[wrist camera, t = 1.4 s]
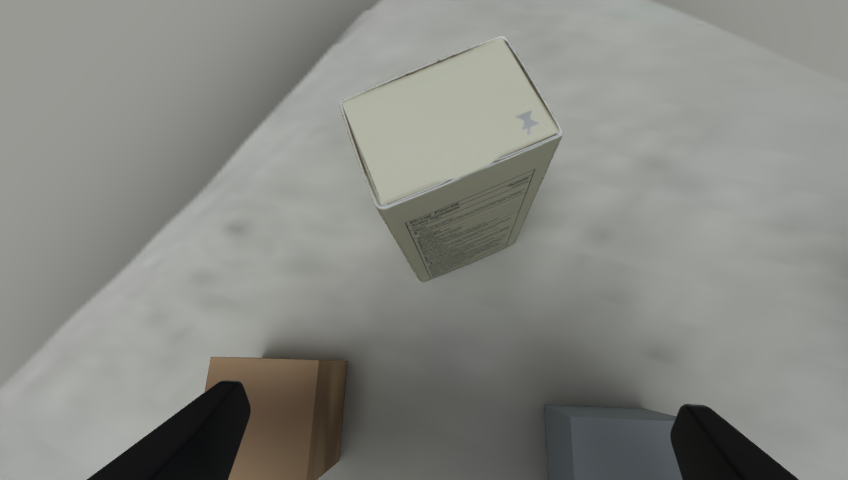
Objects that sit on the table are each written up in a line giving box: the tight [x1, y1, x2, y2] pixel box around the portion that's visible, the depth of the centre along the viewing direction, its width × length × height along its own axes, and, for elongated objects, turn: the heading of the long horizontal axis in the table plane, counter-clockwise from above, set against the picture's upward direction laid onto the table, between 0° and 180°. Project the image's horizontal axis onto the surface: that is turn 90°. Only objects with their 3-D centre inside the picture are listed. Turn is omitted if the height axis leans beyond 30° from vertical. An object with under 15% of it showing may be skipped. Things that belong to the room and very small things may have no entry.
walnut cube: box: [205, 357, 347, 480], centre depth 19 cm, size 5×5×5 cm
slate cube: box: [544, 405, 683, 480], centre depth 18 cm, size 5×5×5 cm
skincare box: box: [339, 36, 563, 281], centre depth 18 cm, size 6×4×12 cm
